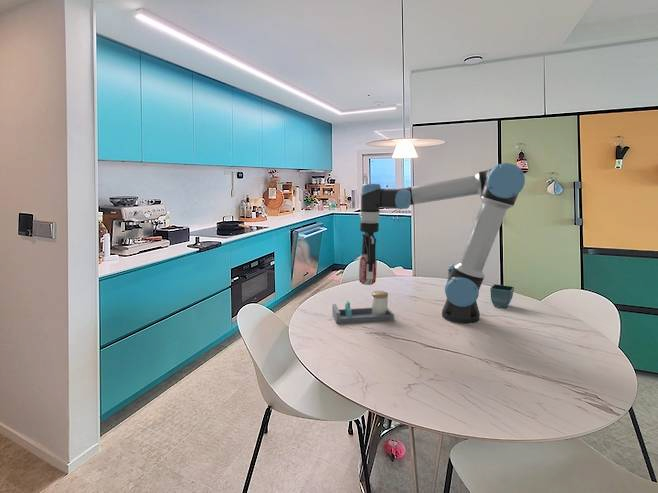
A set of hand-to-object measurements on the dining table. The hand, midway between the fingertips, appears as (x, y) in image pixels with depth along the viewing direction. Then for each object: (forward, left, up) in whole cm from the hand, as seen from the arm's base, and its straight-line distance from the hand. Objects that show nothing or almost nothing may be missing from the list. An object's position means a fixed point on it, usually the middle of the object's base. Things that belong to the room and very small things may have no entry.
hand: (367, 276), depth 154 cm
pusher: (+7, +4, -17) cm, 19 cm away
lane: (+2, +2, -18) cm, 18 cm away
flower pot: (-56, -33, -18) cm, 67 cm away
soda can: (0, 0, -3) cm, 3 cm away
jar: (-5, -2, -17) cm, 18 cm away
